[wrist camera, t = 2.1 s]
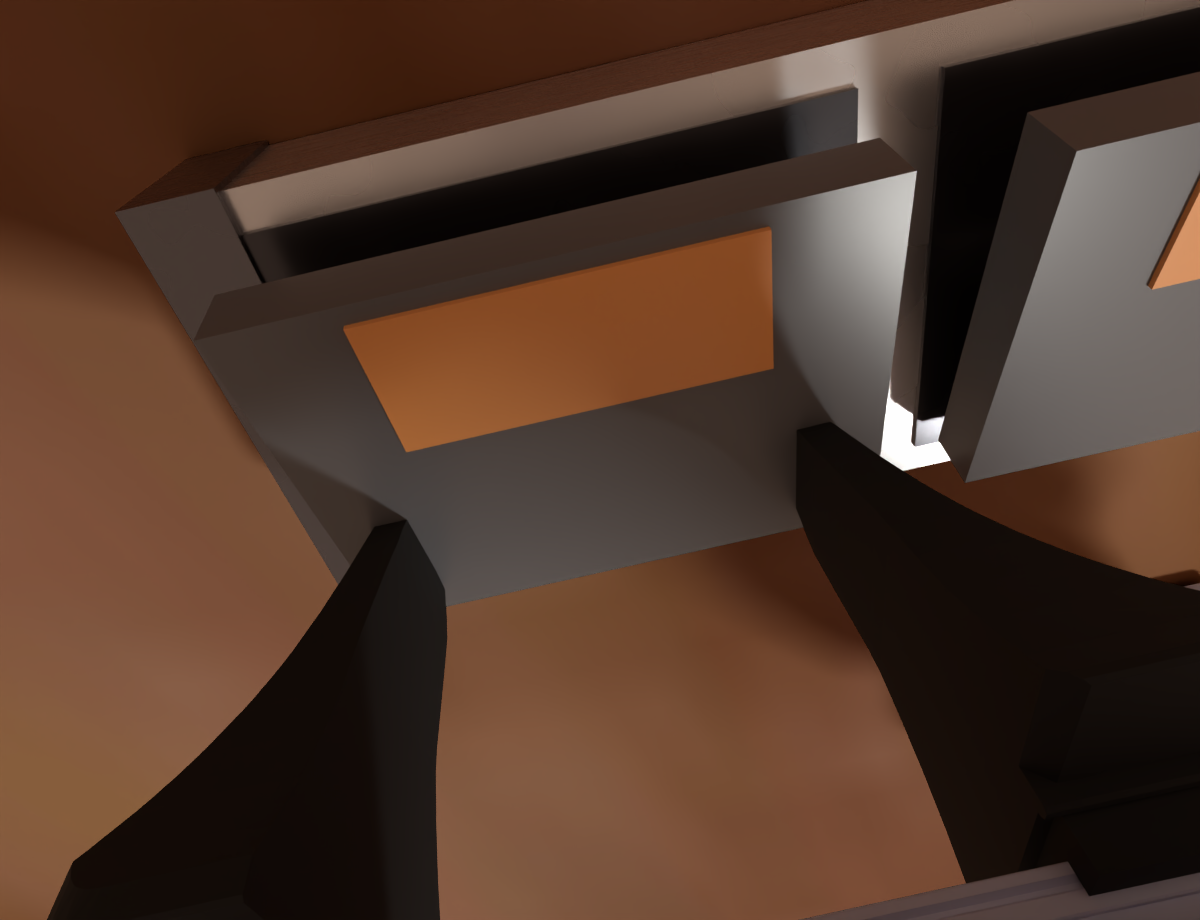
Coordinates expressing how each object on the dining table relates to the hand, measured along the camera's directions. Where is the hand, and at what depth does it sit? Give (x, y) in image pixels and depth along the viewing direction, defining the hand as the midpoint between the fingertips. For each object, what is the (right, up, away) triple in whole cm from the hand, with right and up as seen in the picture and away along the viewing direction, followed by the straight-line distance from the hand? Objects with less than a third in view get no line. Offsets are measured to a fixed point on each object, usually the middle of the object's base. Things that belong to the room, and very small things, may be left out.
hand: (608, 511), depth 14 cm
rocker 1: (0, +2, 0) cm, 2 cm away
